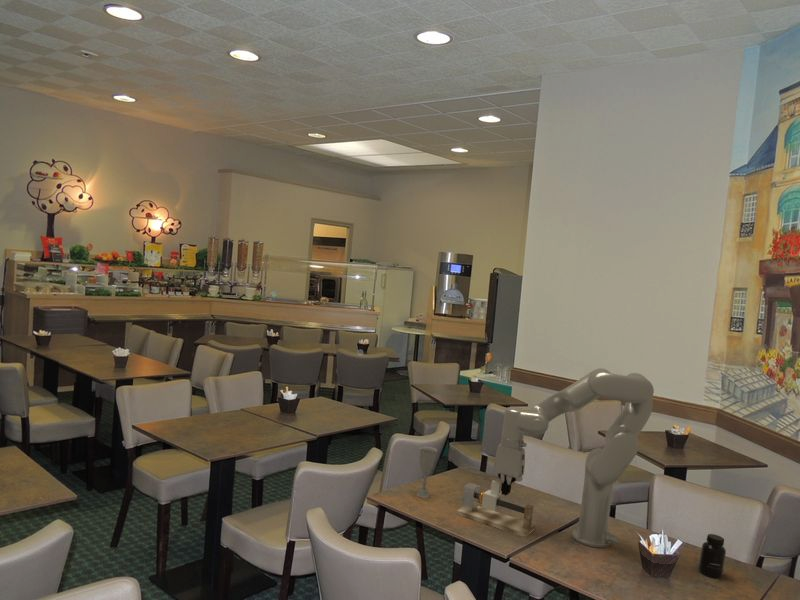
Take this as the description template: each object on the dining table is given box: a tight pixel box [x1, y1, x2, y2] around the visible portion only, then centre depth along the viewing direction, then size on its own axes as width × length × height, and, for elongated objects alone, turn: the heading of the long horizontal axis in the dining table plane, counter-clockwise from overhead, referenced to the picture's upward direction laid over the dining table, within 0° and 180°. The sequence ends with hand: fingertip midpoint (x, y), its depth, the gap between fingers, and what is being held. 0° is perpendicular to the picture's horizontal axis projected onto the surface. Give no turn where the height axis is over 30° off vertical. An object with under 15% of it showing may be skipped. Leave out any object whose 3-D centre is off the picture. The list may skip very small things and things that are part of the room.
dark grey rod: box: [475, 492, 525, 514], centre depth 225 cm, size 21×2×2 cm, turn 58°
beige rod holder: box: [456, 504, 537, 538], centre depth 225 cm, size 26×10×9 cm, turn 58°
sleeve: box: [481, 479, 503, 512], centre depth 226 cm, size 5×5×10 cm
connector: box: [460, 482, 486, 512], centre depth 229 cm, size 7×5×8 cm
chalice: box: [416, 445, 438, 499], centre depth 242 cm, size 7×7×18 cm
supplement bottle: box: [698, 533, 727, 579], centre depth 201 cm, size 7×7×12 cm
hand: (505, 493), depth 223 cm, fingers closed
